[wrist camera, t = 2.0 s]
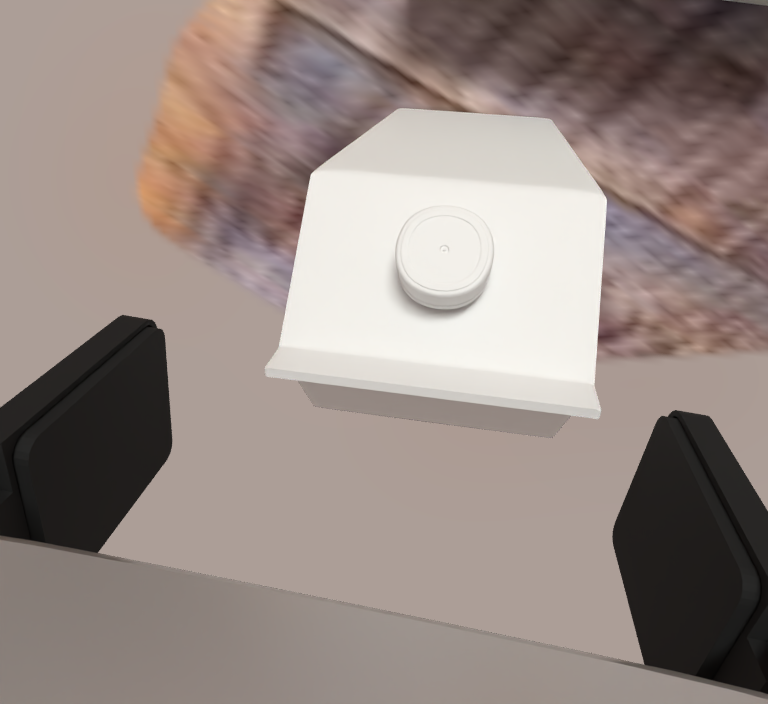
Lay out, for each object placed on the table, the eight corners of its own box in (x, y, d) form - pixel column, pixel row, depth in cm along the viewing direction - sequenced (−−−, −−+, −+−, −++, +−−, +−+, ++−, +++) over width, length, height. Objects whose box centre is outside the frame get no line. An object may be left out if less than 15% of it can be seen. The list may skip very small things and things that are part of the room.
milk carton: (526, 266, 30) (567, 542, 14) (389, 252, 31) (270, 496, 15) (552, 117, 27) (646, 245, 10) (397, 106, 28) (254, 208, 11)
